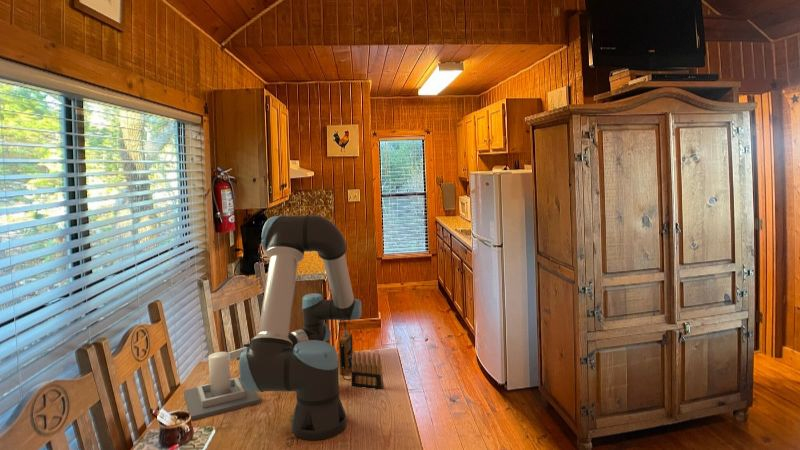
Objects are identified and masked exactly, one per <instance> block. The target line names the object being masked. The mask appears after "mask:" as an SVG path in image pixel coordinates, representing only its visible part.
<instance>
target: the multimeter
mask: <svg viewBox="0 0 800 450" xmlns="http://www.w3.org/2000/svg"><path fill="white" fill-rule="evenodd" d="M345 316H348V315H345ZM345 316H344V320H339V323H338V336H339V337H338V338H339V339H338V350H339V351H338V354H339V355H338V357H339V358H338V359H339V371H340V372H339V373H340V375H342V378H343V379H344V380H345V381H350V380H351V381H352V378H349V379H348V378H345V377H344V375H346V376H349V374H350V373H351V372H352V354H353V351H354V344H353V333H352V332H351V331H350V328H348V331H347V324H346V323H347V322H346V321H347V320H345ZM348 319H349V317H348ZM341 321H343V322H342V323H343V327H344V329H343V334H342V336H341V332H340V329H341V328H340V327H341V326H340V325H341Z"/></svg>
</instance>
